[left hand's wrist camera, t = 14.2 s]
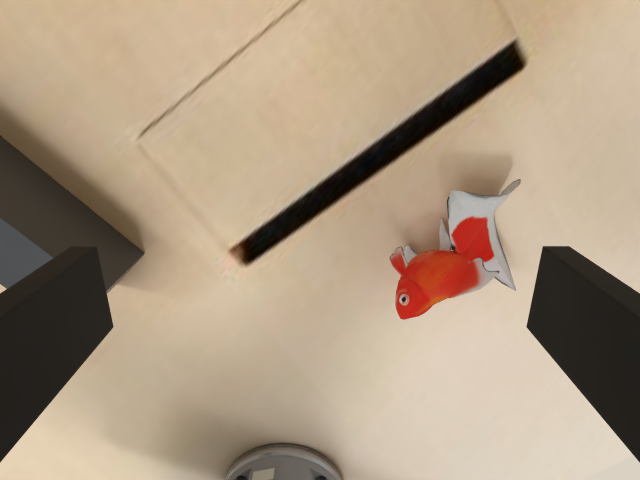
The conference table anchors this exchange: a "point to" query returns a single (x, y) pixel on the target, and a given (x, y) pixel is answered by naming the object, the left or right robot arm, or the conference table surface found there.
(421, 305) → the fish
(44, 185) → the bar
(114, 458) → the conference table surface
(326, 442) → the conference table surface
